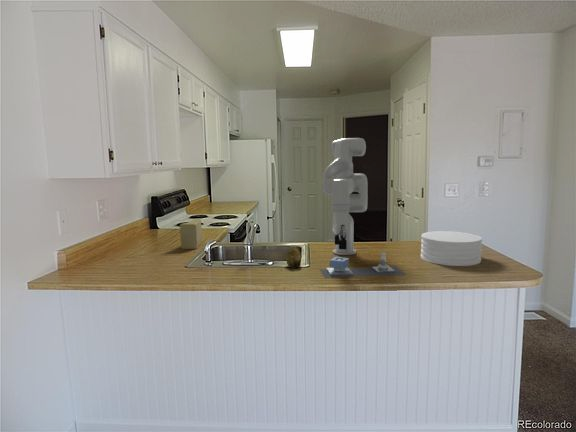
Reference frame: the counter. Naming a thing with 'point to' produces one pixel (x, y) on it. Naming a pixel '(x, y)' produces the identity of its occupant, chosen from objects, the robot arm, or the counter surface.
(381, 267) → the stand
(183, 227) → the cheese
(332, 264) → the square hole block
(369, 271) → the bench mat
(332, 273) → the hub
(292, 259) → the potato
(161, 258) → the counter surface
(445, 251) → the plate stack
